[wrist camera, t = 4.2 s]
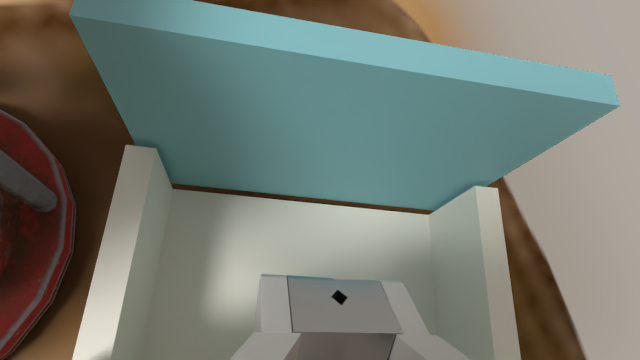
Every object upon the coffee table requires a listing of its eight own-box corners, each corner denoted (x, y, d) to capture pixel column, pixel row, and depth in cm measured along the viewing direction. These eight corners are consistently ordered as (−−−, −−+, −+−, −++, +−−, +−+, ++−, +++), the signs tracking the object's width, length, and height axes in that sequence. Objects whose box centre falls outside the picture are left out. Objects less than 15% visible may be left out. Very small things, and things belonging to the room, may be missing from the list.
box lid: (444, 211, 24) (620, 105, 13) (154, 181, 21) (69, 15, 10) (441, 180, 25) (606, 56, 14) (161, 147, 22) (89, -41, 11)
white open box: (443, 395, 22) (567, 428, 14) (116, 388, 19) (30, 425, 11) (432, 225, 26) (525, 172, 18) (156, 198, 23) (112, 120, 15)
